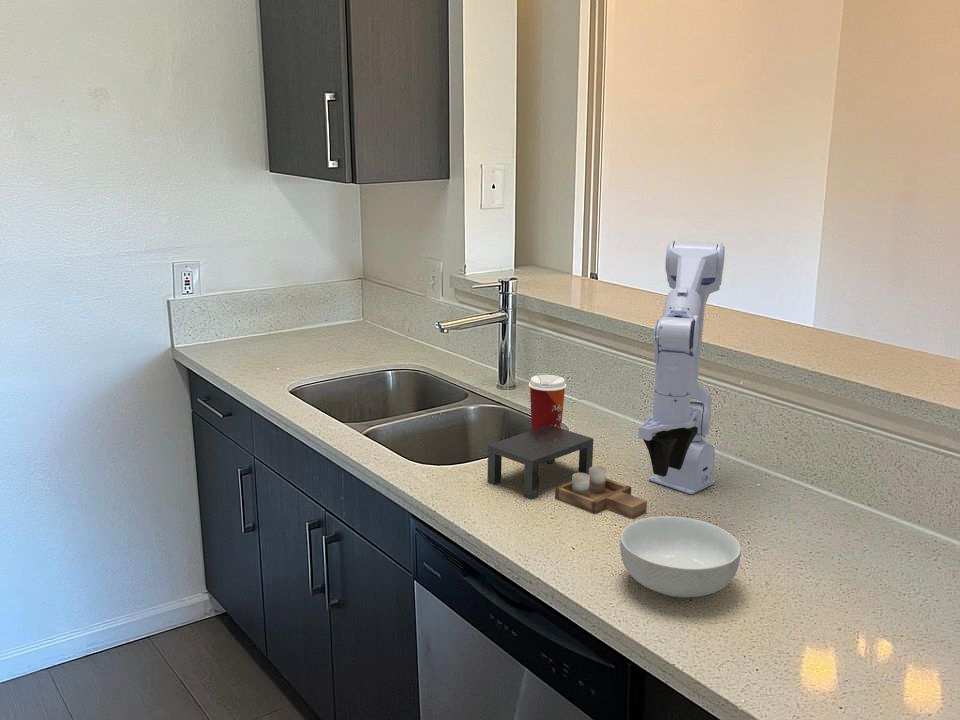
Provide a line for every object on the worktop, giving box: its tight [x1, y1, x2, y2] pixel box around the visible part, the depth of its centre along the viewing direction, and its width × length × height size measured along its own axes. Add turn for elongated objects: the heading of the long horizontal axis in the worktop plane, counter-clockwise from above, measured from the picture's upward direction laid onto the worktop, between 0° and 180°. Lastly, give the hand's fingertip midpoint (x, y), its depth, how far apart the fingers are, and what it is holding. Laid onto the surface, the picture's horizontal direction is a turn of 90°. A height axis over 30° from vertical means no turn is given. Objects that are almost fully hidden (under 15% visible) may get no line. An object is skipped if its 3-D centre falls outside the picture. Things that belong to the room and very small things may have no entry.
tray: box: [554, 465, 648, 519], centre depth 160 cm, size 14×10×4 cm
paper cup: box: [528, 374, 567, 430], centre depth 187 cm, size 8×8×14 cm
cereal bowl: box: [619, 515, 742, 599], centre depth 132 cm, size 17×17×7 cm
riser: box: [487, 425, 594, 500], centre depth 170 cm, size 11×17×7 cm, turn 134°
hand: (667, 471), depth 150 cm, fingers open, 4 cm apart
